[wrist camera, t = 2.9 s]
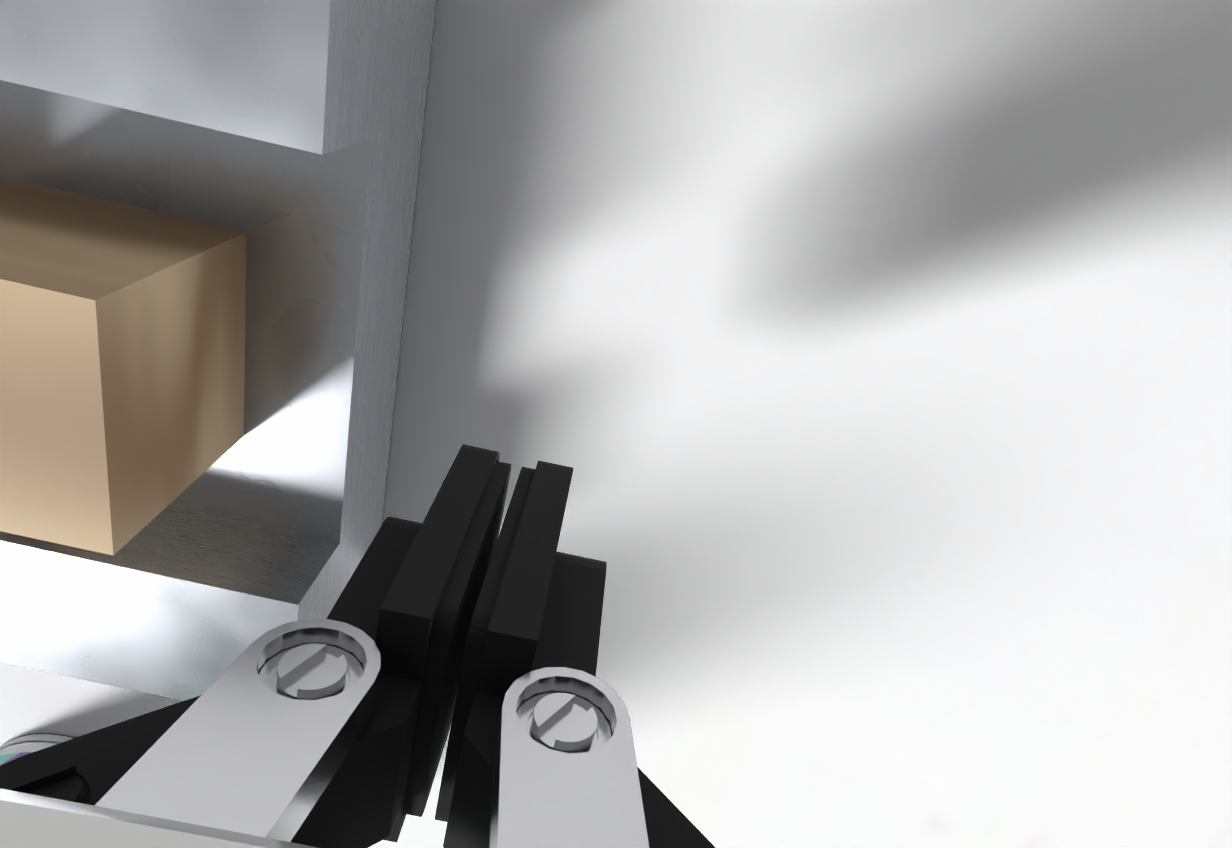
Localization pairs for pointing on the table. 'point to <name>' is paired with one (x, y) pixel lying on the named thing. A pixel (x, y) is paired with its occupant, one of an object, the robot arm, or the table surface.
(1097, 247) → the table surface
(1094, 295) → the table surface
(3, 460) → the light brown cube
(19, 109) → the slot block
